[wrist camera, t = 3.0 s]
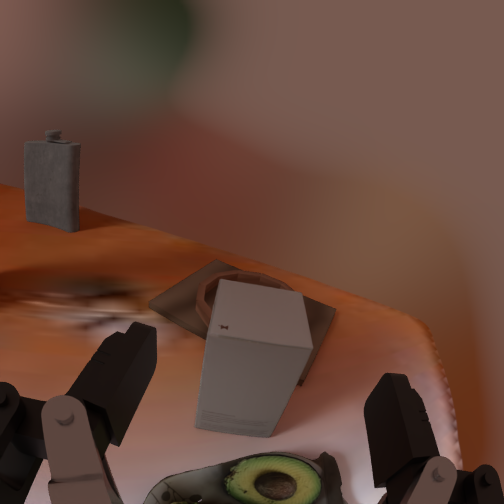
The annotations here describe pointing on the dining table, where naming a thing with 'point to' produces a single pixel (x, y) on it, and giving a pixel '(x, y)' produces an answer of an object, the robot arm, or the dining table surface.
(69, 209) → the hip flask
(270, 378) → the supplement box
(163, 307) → the ring holder
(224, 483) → the salad plate
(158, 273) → the dining table surface
